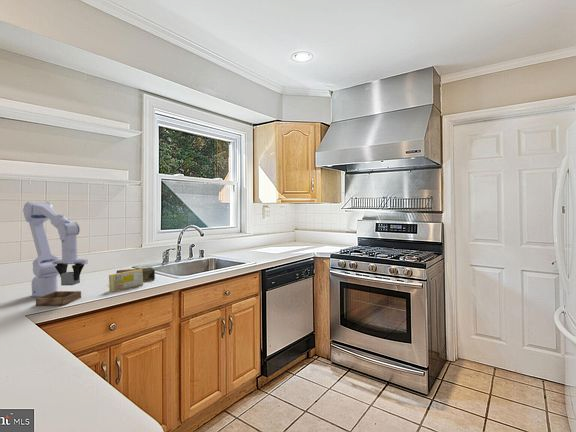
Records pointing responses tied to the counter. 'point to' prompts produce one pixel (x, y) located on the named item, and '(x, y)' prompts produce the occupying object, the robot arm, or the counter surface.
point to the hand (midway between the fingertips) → (70, 280)
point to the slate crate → (68, 279)
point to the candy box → (125, 280)
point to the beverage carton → (147, 273)
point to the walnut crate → (58, 298)
